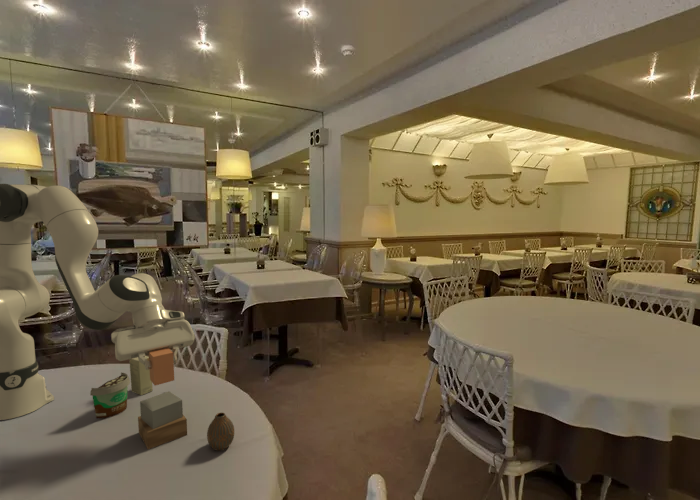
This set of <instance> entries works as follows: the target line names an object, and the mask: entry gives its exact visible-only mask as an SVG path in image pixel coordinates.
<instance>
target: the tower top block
mask: <svg viewBox="0 0 700 500" xmlns="http://www.w3.org/2000/svg"><path fill="white" fill-rule="evenodd" d="M139 407H140V416H141V419H142V420H143V421H144V422H145V423H147V424H148V425H149V426H150V427H151V428H152V429H155V428H158V427H160V426H162V425H165V424H167V423H170V422H172V421H174V420H177V419H179V418H182V417H183V415H184V413H183V411H184V410H183V399H181V398H180V397H178V396H177V395H175V394H174V393H173V392H171V391H169V390H168V391H165V392H163V393H160V394H158V395H154V396H152V397H149V398H146V399H143V400H141V401H139Z"/></svg>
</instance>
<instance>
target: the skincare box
mask: <svg viewBox="0 0 700 500" xmlns="http://www.w3.org/2000/svg"><path fill="white" fill-rule="evenodd" d="M144 358H145V359H146V360H147V361H149V355H146V356H145V357H144ZM128 360H129V361H128V362H129V372H130V375H129V376H130V389H131V392H133V393H134V394H137V395H138V396H143V395H146V394H149V393H150V392H152V391H153V383H152V381H151V380H150V369H148V370H146V369H145V365H143V364H142V363H141V362H140V361H139V360H138V357H137V358H133V359H128Z"/></svg>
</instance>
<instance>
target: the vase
mask: <svg viewBox="0 0 700 500" xmlns="http://www.w3.org/2000/svg"><path fill="white" fill-rule="evenodd" d="M206 438H207V443H208V445H209V447H211V449H212V450H215V451H224V450H227V448H228V447H230V445H232V443H233V441H234V438H235V426H234V424H233V421H232V420H231V419H230V418H229V417H228V416H227V414H226V413H225V412H218V413H216V414H215V415H214V418H213V419H212V421H211V422H210V423H209V426H208V428H207V431H206Z"/></svg>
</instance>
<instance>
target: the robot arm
mask: <svg viewBox="0 0 700 500" xmlns="http://www.w3.org/2000/svg"><path fill="white" fill-rule="evenodd" d="M36 223H41V224H44V227H46V229H47V231H48V232H49V234H50V236H51V238H52V242H53V246H54V260H55V264H56V265H55V266H56V267H57V270H58V272H59V274H60V276H61V279H62V281H63V283H64V285H65V287H66V290H67V292H68V295H69V297H70V299H71V301H72V303H73V308H74V313H75V317H76V319H77V321H78V322H79V324H81V326H83V327H84V328H86V329H89V330H92V331H104V330H105V331H106V330H107V329H109V328H110V327H111V326H112V325H113V324H114V323H115V322H116V321H117V320H118V319H119V318H120V317H121V316H122V315H124V314H125V313H126V312H127V313H131V319H132V322H133V325H130V326H126V327H119V328H116V329H115V330H114V331H112V332H111V334H110V337H111V342H112V343H113V344H114V354H115V359H116V360H118V361H119V362H122V361H123V362H124V361H127V360H129V359H133V358H137V357H138V360H139V361H140V362H141V363H142V364H143V365H145V369H146V370H148V369H152V364H151V363H152V362H151V361H147V360H146V359H145V358H144V357H145V356H149V352H150V351H154V350H159V349H164V348H169V349H170V350H171V351H172V352H173V362H174V364H176V363H178V357H177V355H178V353H179V352H178V351H179V349H181V348H186V347H190V346H193V343H194V342H195V339H196V335H195V332H194V329H193V328H192V325H191V324H190V322H189V321H188V320H186V319H185V316H186V315H185V313H184V312H183V311H179V310H177V311H176V310H170V309H165V307H164V305H163V304H162V303H163V298H162V293H161V290H160V288H159V285H158V283H157V282H156V280H155V279H154V277H153V276H152V275H150V274H147V273H143V272H141V273H135V274H132V275H127V274H126V275H125V274H115V275H113V276H112V277H111V278H109V279H108V280H107V281H105V282H104V283H103V284H102V285H100V286H99V288H97V289H96V290H95V288H94V286H93V284H92V282H91V280H90V277H89V275H88V272H87V268H86V266H87V260H88V258H89V255H90V253H91V251H92V249H93V248H94V246H95V244H96V243H97V241H98V237H99V228H98V225H97V222H96V220H95V219H94V217H93V215H92V214H91V213H90V210H88V208H87V207H86V205H85V204H84V203H83V202H82V201H81V200H80V198H79V197H78V196H77V195H76V194H75V193H74V192H73V191H72V190H70V189H69V187H68V188H67V187H65V186H63V185H49V186H44V185H38V184H27V183H26V184H17V183H16V184H13V183H12V184H9V183H0V421H4V420H11V419H14V418H18V417H21V416H25V415H27V414H30V413H32V412H34V411H36V410H39V409H40V408H42V407H43V406H45V405H46V404H48V403H51V402H53V401H54V400H55V396H54V395H53V394H52V392H50V391H49V390H48V389H47V386H46V379H45V377H44V376H43V375H41V374H39V373H38V372H39V363H38V360H37V359H36V349H35V340H34V337H33V336H32V335H31V334H29V333H26V332H23V331H22V330H21V328H20V325H19V320H22V319H25V318H28V317H31V316H34V315H36V314H37V313H39V312H41V311H42V310H44V309H46V307H48V305H49V303H50V301H51V300H50V299H51V295H50V292H49V290H48V288H46V286H44V285H43V284H41V283H40V282H39V280H38V279H37V277H36V275H35V272H34V269H33V265H32V264H33V263H32V262H33V261H32V227H33V225H35V224H36Z"/></svg>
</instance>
